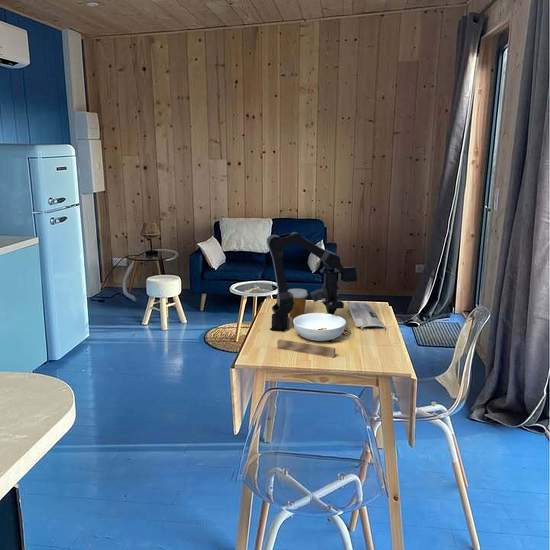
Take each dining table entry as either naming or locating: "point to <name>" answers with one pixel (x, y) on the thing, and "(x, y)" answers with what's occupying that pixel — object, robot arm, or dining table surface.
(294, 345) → the walnut bar
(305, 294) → the disposable coffee cup
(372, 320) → the newspaper
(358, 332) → the dining table surface
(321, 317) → the serving bowl
